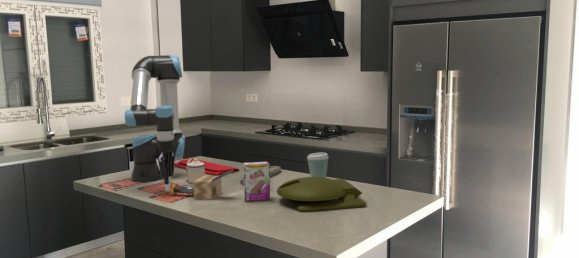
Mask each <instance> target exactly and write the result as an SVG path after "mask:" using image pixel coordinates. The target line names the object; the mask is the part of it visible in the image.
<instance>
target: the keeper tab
mask: <svg viewBox="0 0 579 258" xmlns="http://www.w3.org/2000/svg"><path fill="white" fill-rule="evenodd" d="M233 171H234V170H230V171H228V172H226V173H224V174H222V175H220V176H217V177H215V178H213V179H212V181H214V180H216V179H219V178H221V179H222V178H223V177H225V176H228V175H229V173H230V174H232V173H231V172H233Z"/></svg>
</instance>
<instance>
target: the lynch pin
mask: <svg viewBox="0 0 579 258" xmlns="http://www.w3.org/2000/svg"><path fill="white" fill-rule="evenodd" d="M169 193H170V195H171V196H176V195H177V194H178V193H179V194H194V186H178V184H177V183H172V185H171V187H170V191H169Z"/></svg>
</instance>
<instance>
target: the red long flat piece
mask: <svg viewBox="0 0 579 258" xmlns="http://www.w3.org/2000/svg"><path fill="white" fill-rule="evenodd" d="M194 159H195V158H187V159H181V160H179V161H178V162H175V163H174V166H175V167H174V168H177V167H179V168H178V169H182V168H183V170H186V167H187V164H188V163H191V162H192V161H194ZM198 161H200V162H203V163H204V164H205V166H204V167H205V173H206V174H205V175H210V174H211V175H212V176H215V175H216V176H220V175H222V174H224V173H226V172H228V171H230V170H234V171H233V172H235V173H238V171H239V172H240V169H239V168H238V167H234V166H230V165H225V164H221V163H220V164H219V163H216V162H210V161H207V160H202V159H198ZM233 172H231V173H230V174H234V173H233Z"/></svg>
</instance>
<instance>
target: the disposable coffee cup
mask: <svg viewBox="0 0 579 258" xmlns="http://www.w3.org/2000/svg"><path fill="white" fill-rule="evenodd" d="M306 159H307V164H308V169H309V177H323V178H327V172H328V164H329V163H328V162H329V155H328V153H326V152H323V151H322V152H321V151H320V152H314V153H310V154H308V155H307V156H306Z"/></svg>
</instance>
